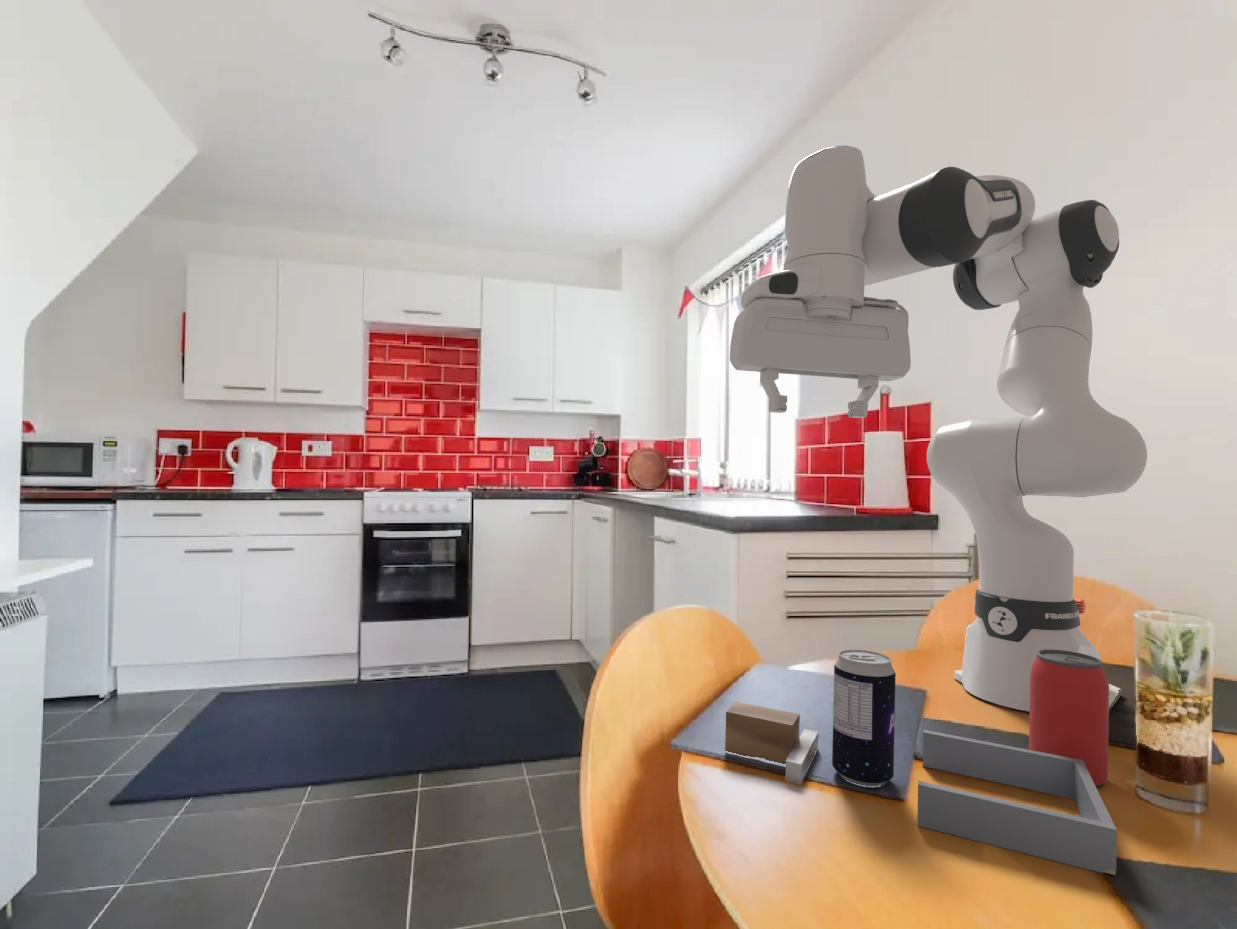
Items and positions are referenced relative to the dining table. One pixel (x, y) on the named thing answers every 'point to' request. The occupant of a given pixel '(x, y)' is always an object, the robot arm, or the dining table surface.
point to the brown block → (770, 737)
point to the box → (1011, 822)
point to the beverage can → (864, 717)
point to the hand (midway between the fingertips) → (817, 414)
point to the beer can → (1070, 709)
